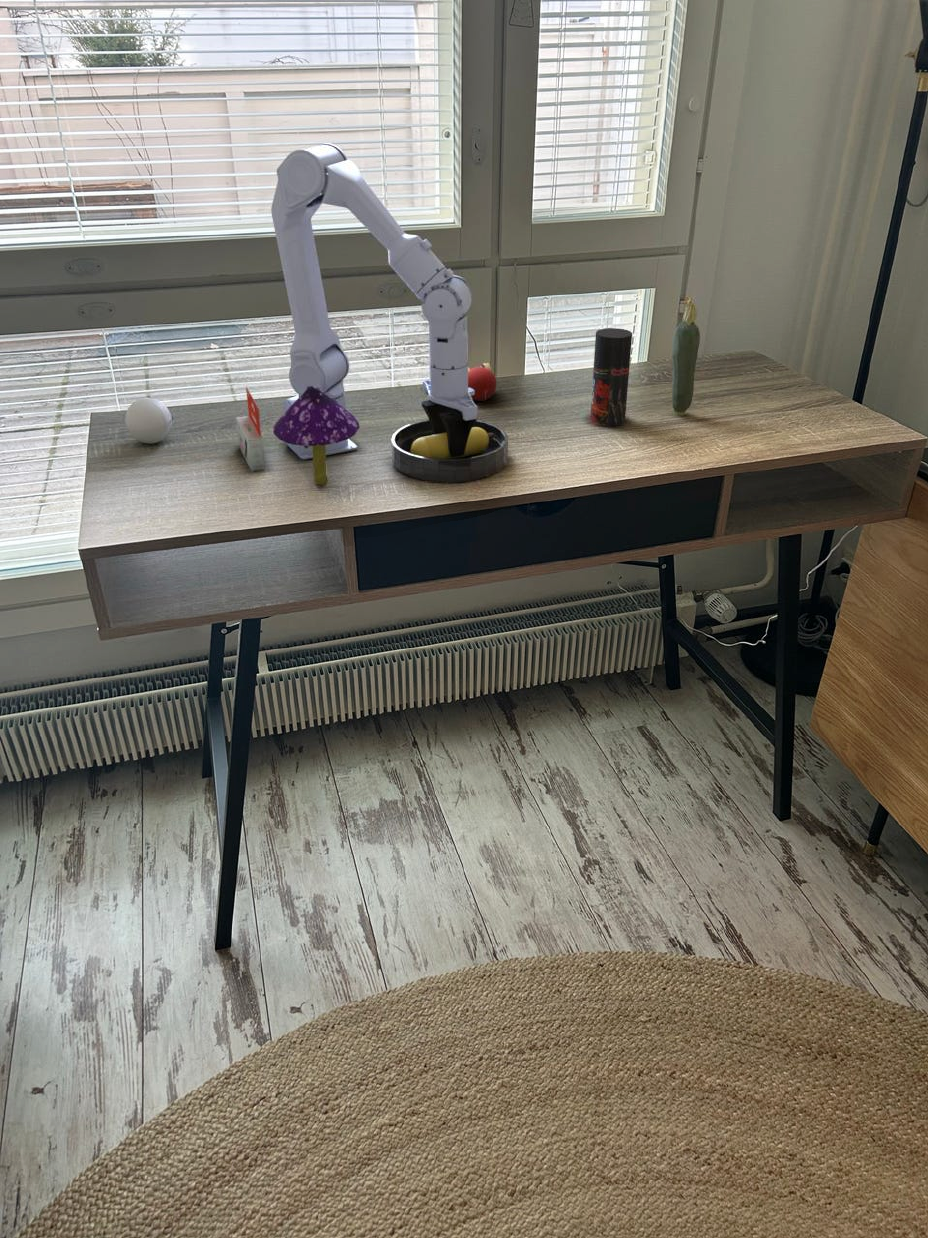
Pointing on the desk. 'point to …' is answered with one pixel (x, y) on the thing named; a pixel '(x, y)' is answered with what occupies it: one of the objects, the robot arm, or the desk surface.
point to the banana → (439, 445)
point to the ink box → (251, 436)
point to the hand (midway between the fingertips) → (450, 450)
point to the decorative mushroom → (316, 426)
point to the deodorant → (610, 376)
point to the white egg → (148, 420)
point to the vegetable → (685, 359)
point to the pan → (448, 468)
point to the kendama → (481, 382)
